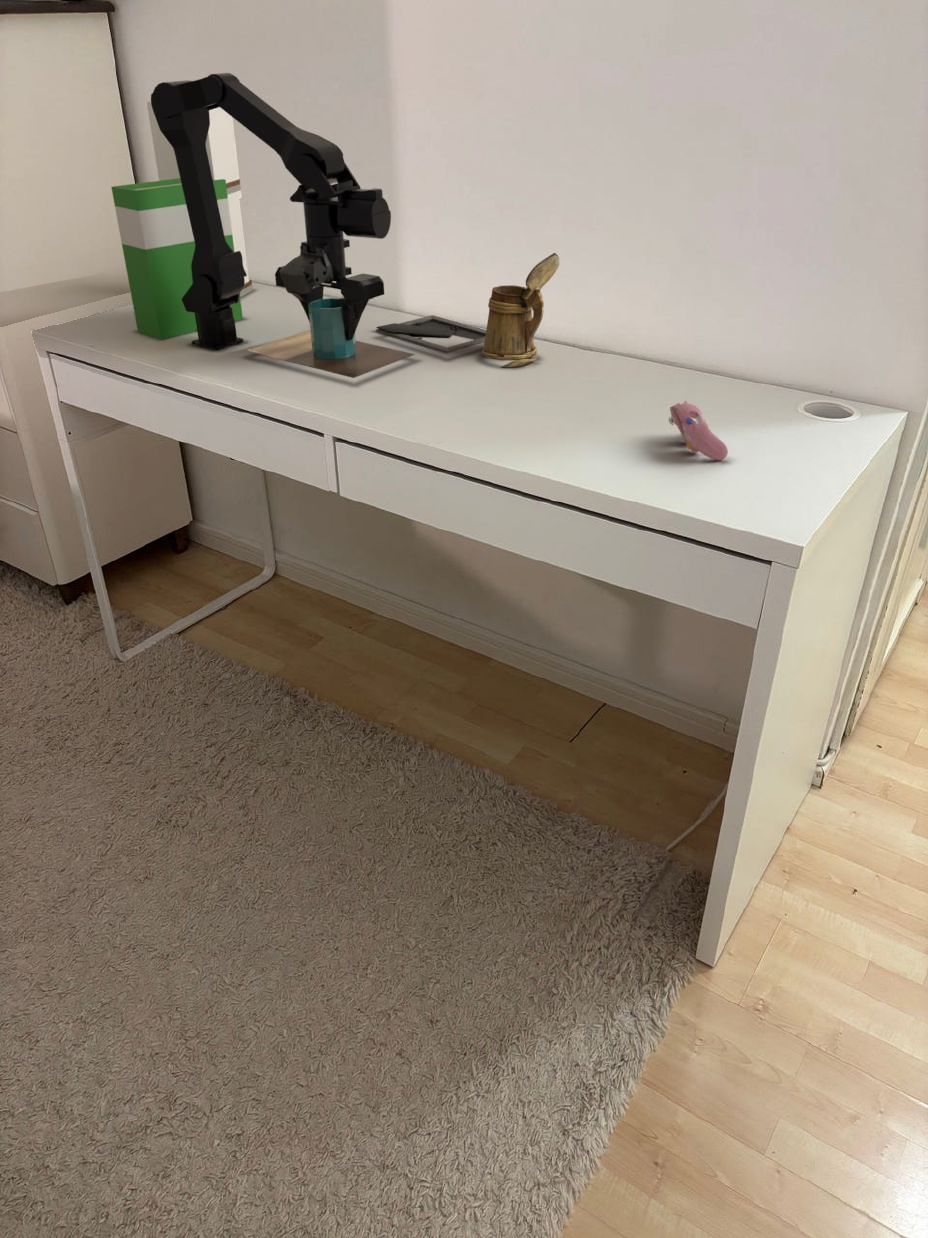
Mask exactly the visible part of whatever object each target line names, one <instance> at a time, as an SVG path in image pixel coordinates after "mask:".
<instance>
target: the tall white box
mask: <svg viewBox="0 0 928 1238" xmlns="http://www.w3.org/2000/svg"><path fill="white" fill-rule="evenodd" d="M146 106H147V107H146V108H147V112H148V119H149V126H150V132H151V137H152V145H153V150H154V156H155V164H156V171H157V175H158V181H162V180H170V179H178V178H180V175H179V170H178V166H177V162H176V157H175V153H174V149H173V147H172V146H171V144H170V143H169V142H168V140H167V139H166V138H165V136H164V135H163V133H162V132H161V131H160V129H159V126H158V123H157V120H156V118H155V115H154V112H153V109H152V106H151V100H149V101H148V100H147V101H146ZM209 117H210V126H209V131H208V135H207V140H206V150H207V155H208V160H209V165H210V169H211V174H212V179H213V180H220V179H225V180H226V187H227V196H228V204H229V212H230V220H231V228H232V236H233V244H234V252H237V251H240V252H241V254H242V260H243V267H244V270H245V272H246V274H247V276H245V277H244V280H245V284H244V287H243V289H242V290H241V292H240V298H242V297H243V296H246V295H247V294H249V293H250V292H253V290H254V289H253V281H252V279H250V278H249V269H248V260H247V252H246V243H245V235H244V228H243V218H242V217H243V216H242V209H241V208H242V207H241V200H240V199H242V198H243V195H242V194H243V193H242V187H241V177H240V171H239V169H240V168H239V160H238V151H237V145H236V136H235V127H234V118H233V117H232V116H230V115H229V114H228V113H227V112H225V111H224V110H223V109H221V108H220V107H219V108H216V109H213V110H209Z"/></svg>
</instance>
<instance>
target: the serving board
mask: <svg viewBox="0 0 928 1238" xmlns="http://www.w3.org/2000/svg"><path fill="white" fill-rule="evenodd" d="M245 351H246V352H250V353H253V354H258V355H262V356H265V357H270V358H273V359H278V360H282V361H285V362H289V363H292V364H297V365H301V366H305V367H308V368H313V369H316V370H321V371H325V372H327V373H331V374H336V375H340V376H344V377H348V378H351V379H355V378H358V377H361V376H363V375H366V374H368V373H370V372H374V371H376V370H378V369H381V368H383V367H386V366H389V365H391V364H394V363H397V362H400V361H401V360H404V359H407V358H410V357H412V356H415V355H416V353H412V352H408V351H403V350H399V349H395V348H390V347H387V346H382V345H378V344H372V343H369V342H364V341H359V340H356V349H355V351H356V353H355V354H354V355H353V356H351V357H348V358H343V359H321V358H317V357H315V356H314V355H313V351H312V342H311V330H310V329H309V330H305V331H303V332H300V333H297V334H296V333H295V334H293V335H290V336H287V337H284V338H281V339H278V340H274V341H272V342H268V343H265V344H262V345H259V346H256V347H252V348H249V349H246V350H245Z"/></svg>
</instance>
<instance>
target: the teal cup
mask: <svg viewBox="0 0 928 1238" xmlns="http://www.w3.org/2000/svg"><path fill="white" fill-rule="evenodd" d="M340 298H341V297H328V298H327V297H326V298H323V299H318V300H315V301H311V302H310V303H309V304H308V308H309V319H310V322H309V330H311V342H312V351H313V355H314V356H315V357H317V358H321V359H343V358H348V357H351V356H353V355H354V354H355V353H356V351H355V349H356V341H357V340H356V333H355V334H354V336H353V339H352V340H347V339H346V335H345V329H344V320H343V310H342V307H341V306H340V305H339V304H338V302H337V301H336V299H340Z"/></svg>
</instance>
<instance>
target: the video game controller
mask: <svg viewBox="0 0 928 1238" xmlns="http://www.w3.org/2000/svg"><path fill="white" fill-rule="evenodd" d="M669 411H670V415H671V416H668V422H669V424H670V425H671V426H674V425H675V426H676V427H677V429H678V431H679V433H680V435H681V436H682V439H683V441H684V442H685V444H686V448H687V449H688V450H690V451H691V452H692V454H693V455H695V454H697V453H699V452H700V453H701V454H702V455H704V456H705V457H708V458H709V459H711V460H713V461H722V460H725V459H726V458H727V456H728V453H729V450H728V447H727V445H726V444H725V442H723V441H722V440H721V439H719V438H718V436H716V435H715V434H714V433H713V431H711V430H710V428H709V425H708V423H707V421H706V419H704V418H703V414H702V411H701V409H700V408H699V407H698V406H697V405H695V404H692V403H688V401H687V400H684V402H678V403H676V404H674V405H671V406H670V407H669Z"/></svg>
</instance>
